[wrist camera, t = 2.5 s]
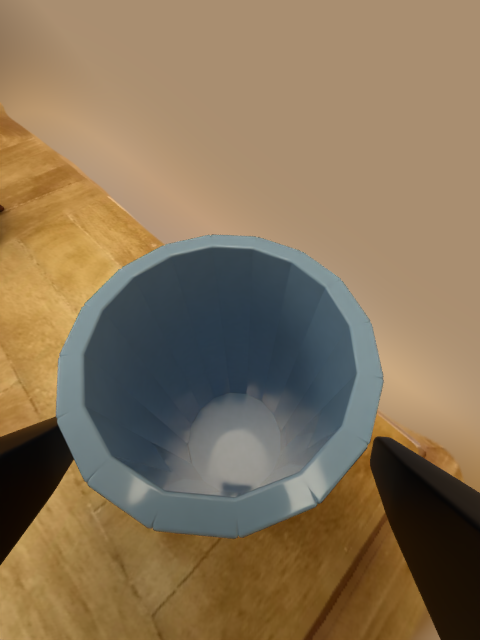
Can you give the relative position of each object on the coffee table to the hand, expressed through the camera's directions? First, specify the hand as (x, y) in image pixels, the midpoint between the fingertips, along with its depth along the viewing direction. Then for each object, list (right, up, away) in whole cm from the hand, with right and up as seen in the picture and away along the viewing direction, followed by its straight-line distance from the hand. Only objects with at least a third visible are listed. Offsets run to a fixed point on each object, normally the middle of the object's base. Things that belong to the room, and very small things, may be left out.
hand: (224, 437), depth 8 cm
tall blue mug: (0, -3, +9) cm, 9 cm away
